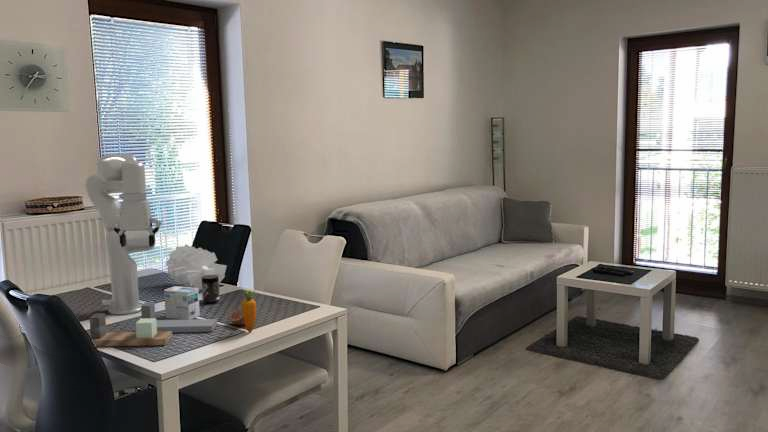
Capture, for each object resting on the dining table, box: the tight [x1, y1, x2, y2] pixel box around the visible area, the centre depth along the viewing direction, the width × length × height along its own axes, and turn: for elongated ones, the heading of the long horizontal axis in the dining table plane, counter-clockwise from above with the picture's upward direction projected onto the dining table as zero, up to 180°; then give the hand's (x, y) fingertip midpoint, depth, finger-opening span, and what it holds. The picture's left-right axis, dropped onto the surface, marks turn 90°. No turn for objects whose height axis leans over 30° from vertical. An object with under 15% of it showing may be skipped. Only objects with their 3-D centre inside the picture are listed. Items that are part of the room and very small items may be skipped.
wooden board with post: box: [89, 312, 173, 347], centre depth 213 cm, size 24×8×9 cm, turn 92°
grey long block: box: [140, 301, 218, 333], centre depth 226 cm, size 24×8×9 cm, turn 92°
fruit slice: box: [228, 308, 245, 326], centre depth 231 cm, size 8×7×5 cm
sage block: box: [135, 317, 157, 338], centre depth 213 cm, size 5×5×5 cm
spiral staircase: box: [165, 243, 228, 292], centre depth 285 cm, size 18×18×25 cm
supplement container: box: [201, 275, 221, 305], centre depth 261 cm, size 7×7×10 cm
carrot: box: [241, 289, 257, 333], centre depth 222 cm, size 5×5×15 cm
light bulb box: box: [163, 285, 201, 320], centre depth 241 cm, size 11×7×11 cm, turn 71°
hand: (137, 246), depth 229 cm, fingers open, 9 cm apart
